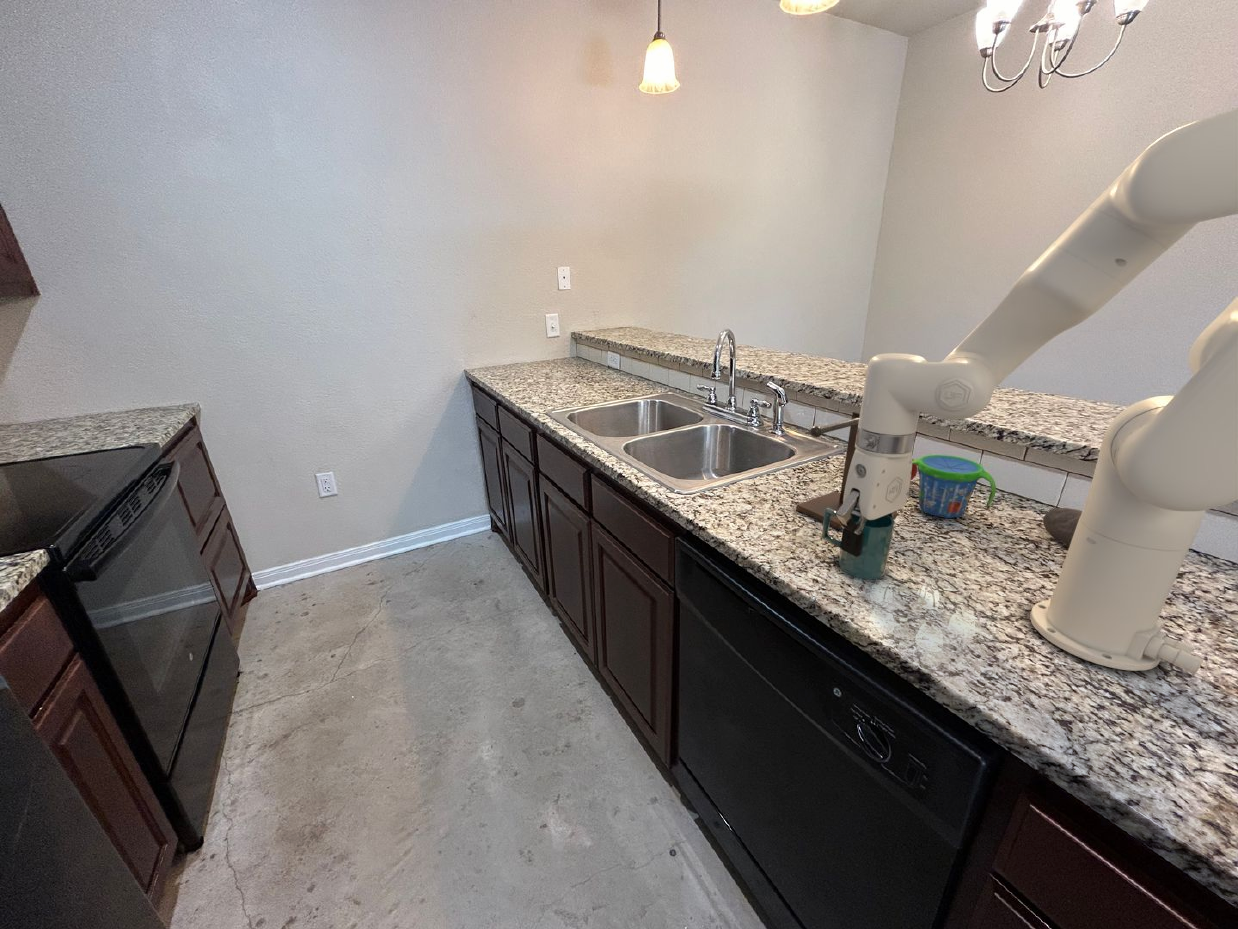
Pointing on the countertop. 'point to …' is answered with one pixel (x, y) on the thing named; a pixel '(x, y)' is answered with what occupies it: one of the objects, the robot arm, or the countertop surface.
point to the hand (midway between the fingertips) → (865, 545)
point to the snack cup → (949, 484)
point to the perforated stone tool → (1062, 523)
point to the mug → (865, 546)
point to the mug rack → (835, 499)
